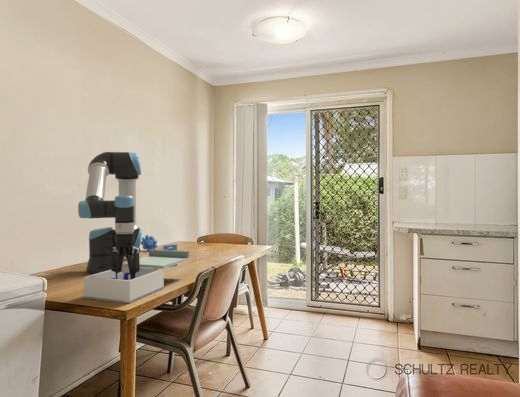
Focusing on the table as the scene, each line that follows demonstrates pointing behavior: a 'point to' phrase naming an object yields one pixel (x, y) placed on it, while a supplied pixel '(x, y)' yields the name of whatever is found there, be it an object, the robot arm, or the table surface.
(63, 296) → the table surface
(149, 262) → the lid
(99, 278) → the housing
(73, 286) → the table surface
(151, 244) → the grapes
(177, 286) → the table surface
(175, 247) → the label tape cartridge
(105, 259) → the robot arm
